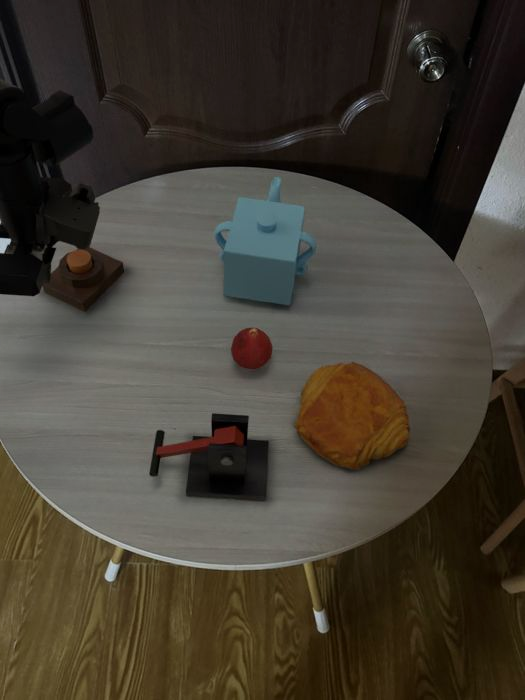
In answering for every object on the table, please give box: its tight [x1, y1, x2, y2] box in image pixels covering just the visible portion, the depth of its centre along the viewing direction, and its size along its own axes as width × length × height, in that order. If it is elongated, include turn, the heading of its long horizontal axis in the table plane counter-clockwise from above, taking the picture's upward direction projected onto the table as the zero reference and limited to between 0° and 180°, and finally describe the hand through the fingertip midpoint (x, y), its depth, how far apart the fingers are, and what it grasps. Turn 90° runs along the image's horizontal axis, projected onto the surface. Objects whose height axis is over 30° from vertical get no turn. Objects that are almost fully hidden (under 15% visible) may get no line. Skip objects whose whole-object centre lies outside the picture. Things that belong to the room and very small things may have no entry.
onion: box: [230, 327, 273, 371], centre depth 87 cm, size 6×6×8 cm
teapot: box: [213, 176, 317, 306], centre depth 97 cm, size 18×16×13 cm
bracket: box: [185, 412, 270, 502], centre depth 76 cm, size 10×8×10 cm
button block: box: [42, 246, 125, 313], centre depth 96 cm, size 10×8×4 cm
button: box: [67, 249, 93, 274], centre depth 94 cm, size 4×4×2 cm
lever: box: [148, 426, 244, 478], centre depth 75 cm, size 12×6×2 cm, turn 88°
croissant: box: [293, 361, 411, 471], centre depth 82 cm, size 14×16×8 cm
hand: (45, 280), depth 82 cm, fingers closed
